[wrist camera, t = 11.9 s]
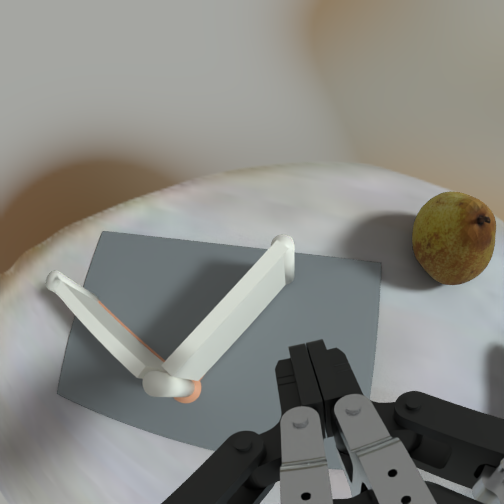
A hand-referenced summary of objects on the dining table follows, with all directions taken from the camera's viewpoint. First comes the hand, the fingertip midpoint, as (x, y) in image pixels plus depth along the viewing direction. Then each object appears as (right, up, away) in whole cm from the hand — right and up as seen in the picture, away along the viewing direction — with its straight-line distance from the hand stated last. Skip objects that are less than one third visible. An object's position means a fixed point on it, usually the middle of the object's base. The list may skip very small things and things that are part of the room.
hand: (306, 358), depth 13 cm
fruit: (+18, +4, +18) cm, 26 cm away
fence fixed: (-14, -5, +18) cm, 23 cm away
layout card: (-7, -4, +17) cm, 19 cm away
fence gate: (-3, -2, +17) cm, 17 cm away
